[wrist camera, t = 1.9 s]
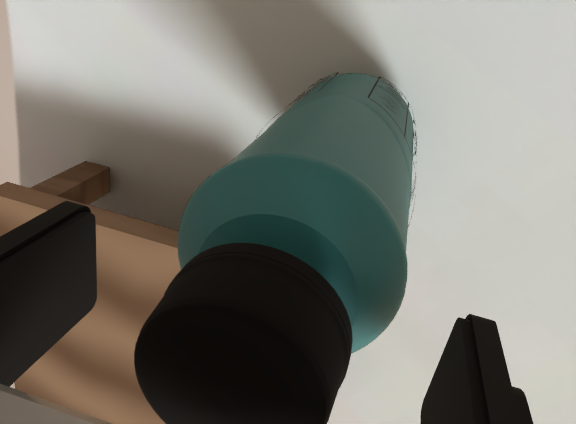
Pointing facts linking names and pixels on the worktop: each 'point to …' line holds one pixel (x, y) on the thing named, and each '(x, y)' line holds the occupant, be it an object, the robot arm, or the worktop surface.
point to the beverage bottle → (286, 264)
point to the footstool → (99, 300)
